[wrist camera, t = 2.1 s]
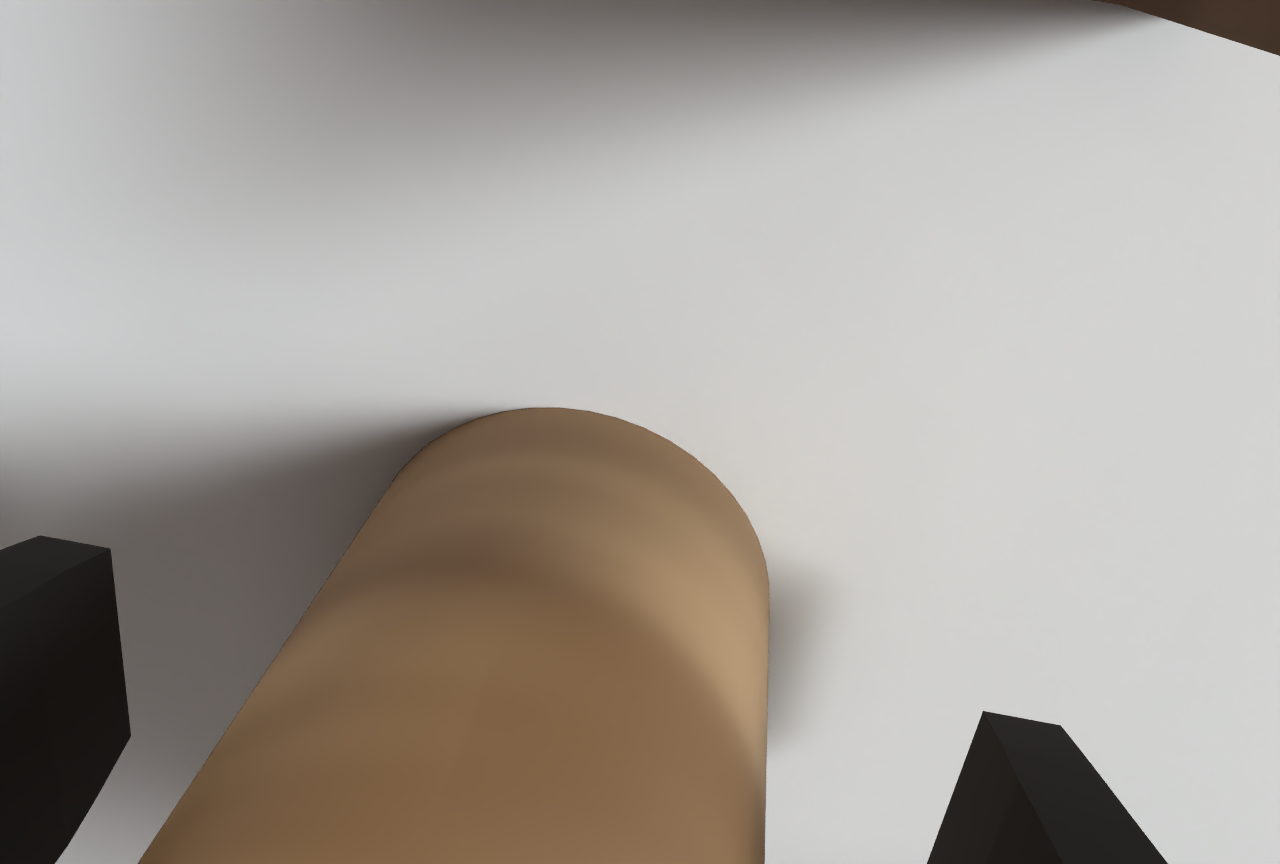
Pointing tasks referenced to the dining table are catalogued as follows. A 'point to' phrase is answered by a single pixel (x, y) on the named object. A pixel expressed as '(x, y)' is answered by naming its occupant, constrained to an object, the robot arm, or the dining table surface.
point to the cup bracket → (1221, 18)
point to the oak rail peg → (512, 670)
